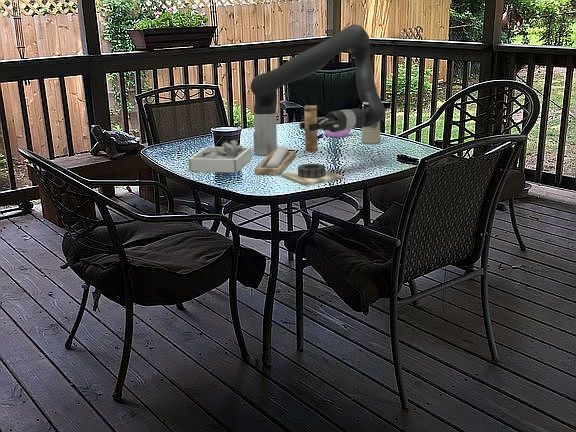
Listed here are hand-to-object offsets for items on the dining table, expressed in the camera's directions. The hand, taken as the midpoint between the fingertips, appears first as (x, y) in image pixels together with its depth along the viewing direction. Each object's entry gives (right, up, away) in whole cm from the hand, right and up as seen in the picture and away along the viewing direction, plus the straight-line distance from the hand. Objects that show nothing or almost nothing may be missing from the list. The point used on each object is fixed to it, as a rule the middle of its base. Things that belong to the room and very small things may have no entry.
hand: (305, 127), depth 233 cm
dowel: (+2, -8, +4) cm, 9 cm away
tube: (-10, -12, +27) cm, 31 cm away
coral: (-32, -12, +28) cm, 45 cm away
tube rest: (-11, -12, +27) cm, 31 cm away
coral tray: (-33, -11, +29) cm, 45 cm away
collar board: (+3, -17, +7) cm, 19 cm away
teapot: (+18, +7, +81) cm, 83 cm away
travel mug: (+31, +1, +64) cm, 71 cm away
